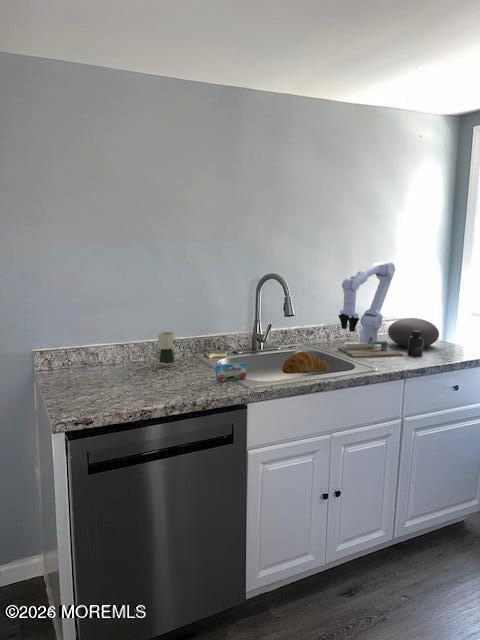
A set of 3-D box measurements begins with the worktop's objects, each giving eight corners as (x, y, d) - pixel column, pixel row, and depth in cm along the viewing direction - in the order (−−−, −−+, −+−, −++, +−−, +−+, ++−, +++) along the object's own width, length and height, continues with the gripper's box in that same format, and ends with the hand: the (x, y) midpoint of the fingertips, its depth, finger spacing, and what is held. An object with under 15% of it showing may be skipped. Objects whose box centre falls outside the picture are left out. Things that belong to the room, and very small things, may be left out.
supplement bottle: (420, 358, 217) (422, 332, 215) (405, 356, 221) (407, 331, 219) (424, 355, 222) (426, 330, 220) (409, 353, 226) (411, 329, 224)
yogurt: (244, 377, 181) (244, 362, 180) (246, 378, 179) (246, 363, 178) (215, 380, 176) (215, 364, 175) (217, 381, 174) (217, 365, 173)
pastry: (288, 377, 183) (289, 357, 182) (274, 368, 195) (275, 350, 194) (334, 373, 190) (335, 353, 189) (318, 365, 202) (318, 347, 201)
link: (372, 346, 234) (372, 336, 233) (375, 348, 230) (376, 337, 229) (343, 347, 231) (343, 336, 230) (346, 349, 227) (346, 338, 226)
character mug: (177, 365, 196) (177, 335, 194) (160, 366, 194) (160, 336, 192) (172, 359, 206) (172, 330, 204) (156, 360, 204) (156, 331, 202)
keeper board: (338, 349, 233) (338, 338, 232) (384, 347, 237) (385, 337, 237) (353, 357, 215) (354, 346, 215) (403, 356, 220) (404, 345, 219)
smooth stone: (376, 344, 247) (378, 316, 244) (412, 340, 257) (414, 313, 255) (411, 354, 225) (413, 323, 222) (449, 350, 235) (451, 321, 233)
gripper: (335, 301, 236) (333, 327, 238) (349, 305, 222) (348, 333, 224) (347, 301, 238) (346, 327, 240) (362, 304, 224) (361, 332, 226)
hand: (348, 330), depth 232 cm, fingers open, 7 cm apart
